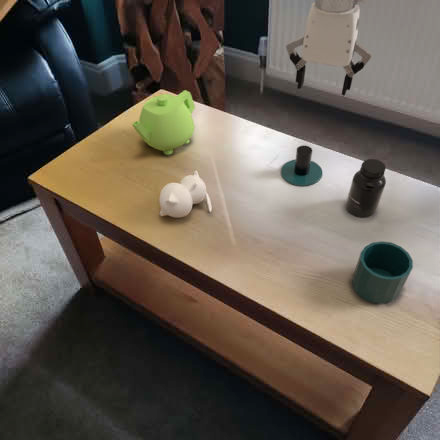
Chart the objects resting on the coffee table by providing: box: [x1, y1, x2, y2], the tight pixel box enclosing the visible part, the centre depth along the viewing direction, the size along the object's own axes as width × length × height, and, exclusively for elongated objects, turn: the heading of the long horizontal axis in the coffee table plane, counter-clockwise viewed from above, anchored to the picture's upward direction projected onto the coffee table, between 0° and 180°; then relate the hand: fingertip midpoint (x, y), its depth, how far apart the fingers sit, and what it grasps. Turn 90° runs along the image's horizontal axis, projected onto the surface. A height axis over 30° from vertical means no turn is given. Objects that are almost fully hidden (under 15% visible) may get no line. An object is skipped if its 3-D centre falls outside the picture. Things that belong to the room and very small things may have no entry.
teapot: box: [131, 89, 196, 155], centre depth 111 cm, size 20×13×13 cm
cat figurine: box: [158, 170, 213, 219], centre depth 97 cm, size 9×11×12 cm
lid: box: [280, 145, 323, 187], centre depth 103 cm, size 10×10×7 cm
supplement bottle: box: [345, 158, 387, 219], centre depth 93 cm, size 7×7×12 cm
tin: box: [351, 240, 414, 305], centre depth 82 cm, size 9×9×7 cm
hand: (322, 89), depth 94 cm, fingers open, 9 cm apart
